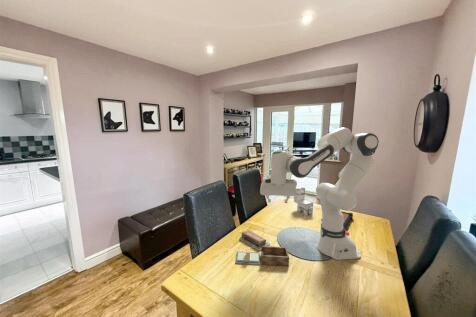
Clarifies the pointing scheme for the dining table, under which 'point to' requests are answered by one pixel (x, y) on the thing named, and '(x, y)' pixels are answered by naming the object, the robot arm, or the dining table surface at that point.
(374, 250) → the dining table surface
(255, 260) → the lid
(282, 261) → the box
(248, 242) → the packaged product
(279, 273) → the dining table surface
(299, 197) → the toy llama
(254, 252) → the mat
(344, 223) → the book
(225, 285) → the dining table surface
